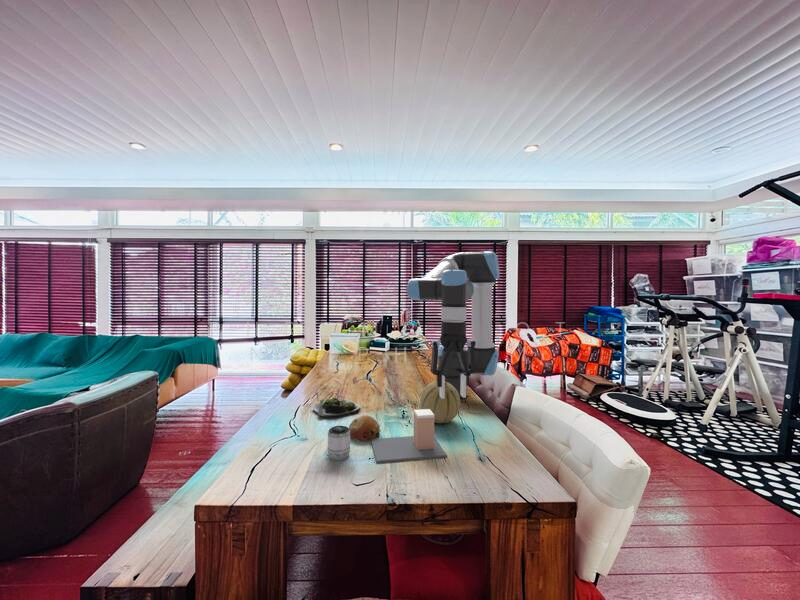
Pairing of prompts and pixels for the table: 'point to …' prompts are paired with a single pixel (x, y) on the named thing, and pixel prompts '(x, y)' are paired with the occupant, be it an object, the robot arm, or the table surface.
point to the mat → (403, 450)
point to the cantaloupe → (440, 402)
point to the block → (424, 429)
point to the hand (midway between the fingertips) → (452, 396)
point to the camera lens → (338, 442)
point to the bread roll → (364, 428)
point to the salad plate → (336, 408)
